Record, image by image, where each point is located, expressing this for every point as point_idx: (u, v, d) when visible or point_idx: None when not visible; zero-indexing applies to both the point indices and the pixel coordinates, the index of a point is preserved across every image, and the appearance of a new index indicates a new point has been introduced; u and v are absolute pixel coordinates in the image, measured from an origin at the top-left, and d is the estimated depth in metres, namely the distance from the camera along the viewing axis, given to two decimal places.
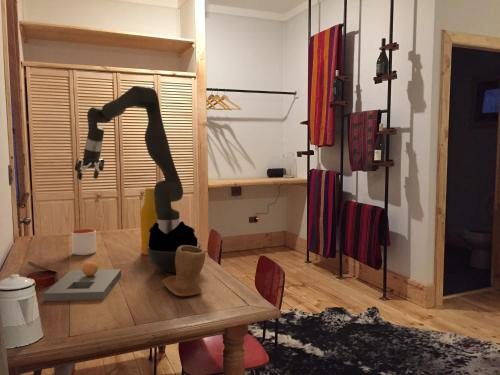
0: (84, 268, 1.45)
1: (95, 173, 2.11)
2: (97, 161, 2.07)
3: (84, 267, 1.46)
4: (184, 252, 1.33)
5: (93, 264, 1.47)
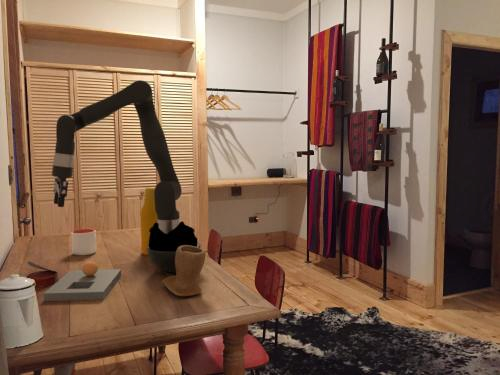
0: (84, 268, 1.45)
1: (57, 197, 1.73)
2: None
3: (84, 267, 1.46)
4: (184, 252, 1.33)
5: (93, 264, 1.47)
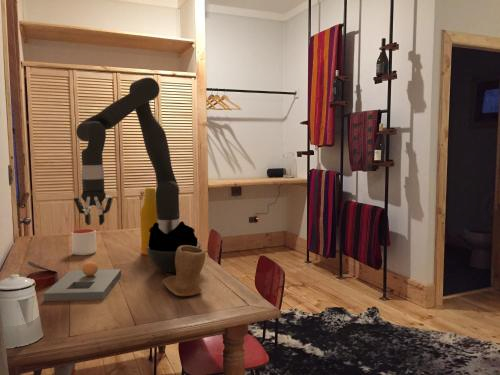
0: (84, 268, 1.45)
1: (89, 217, 1.54)
2: None
3: (84, 267, 1.46)
4: (184, 252, 1.33)
5: (93, 264, 1.47)
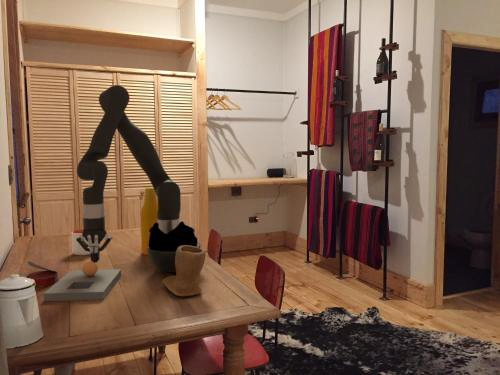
0: (84, 268, 1.45)
1: None
2: None
3: (84, 267, 1.46)
4: (184, 252, 1.33)
5: (93, 264, 1.47)
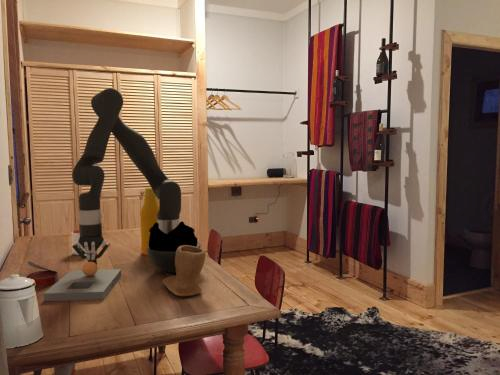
0: (84, 268, 1.45)
1: None
2: None
3: (84, 267, 1.46)
4: (184, 252, 1.33)
5: (93, 264, 1.47)
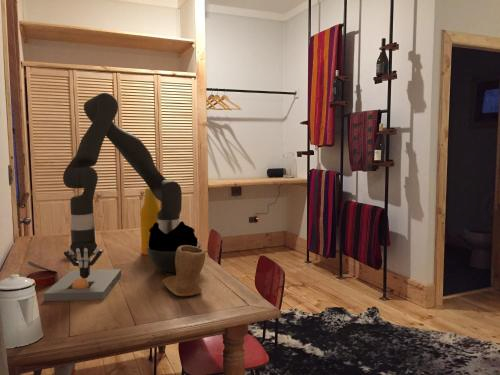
0: None
1: None
2: None
3: None
4: (184, 252, 1.33)
5: None
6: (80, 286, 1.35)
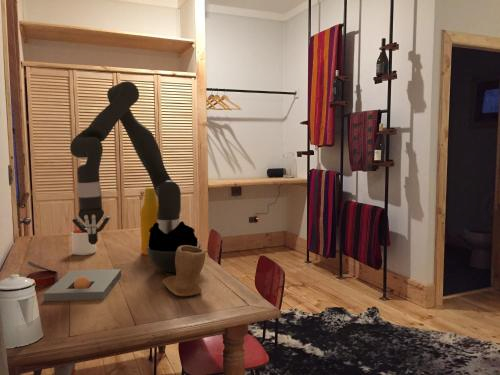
0: None
1: None
2: None
3: None
4: (184, 252, 1.33)
5: None
6: (82, 280, 1.37)
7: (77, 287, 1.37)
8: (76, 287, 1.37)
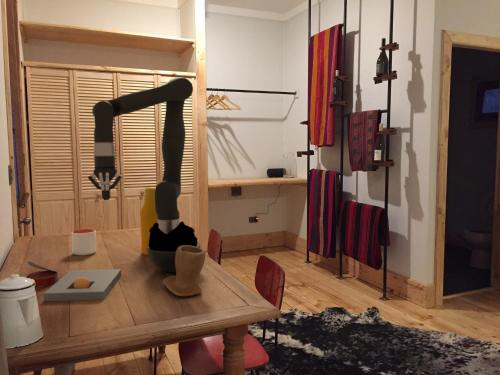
0: None
1: None
2: None
3: None
4: (184, 252, 1.33)
5: None
6: (82, 280, 1.37)
7: (77, 288, 1.36)
8: (76, 288, 1.37)
